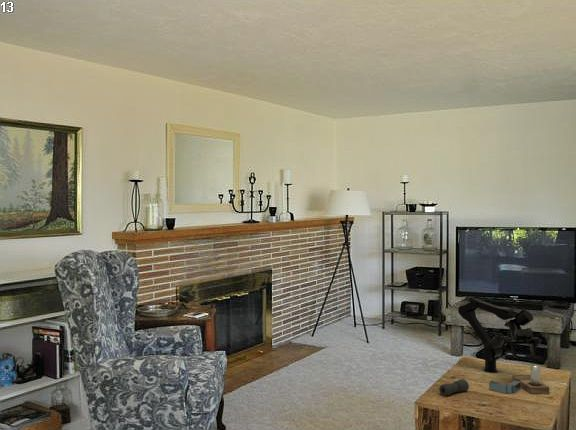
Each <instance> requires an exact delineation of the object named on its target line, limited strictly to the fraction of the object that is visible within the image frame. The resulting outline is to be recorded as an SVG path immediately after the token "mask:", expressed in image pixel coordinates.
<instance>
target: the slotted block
mask: <svg viewBox="0 0 576 430" xmlns="http://www.w3.org/2000/svg"><path fill="white" fill-rule="evenodd" d="M512 381H519V382H520V389H523V390H524V389H525V390H524V391H526V392H528V393H529V394H530V395H541V394H543V395H546V394H547V395H548V394H550V387H549V385H546V384H545V383H543V382H541V381H540V386H532V385H531V374H521V375H520V374H519V375H518V374H517V375H516V374H513V375H512V376H511V382H512Z"/></svg>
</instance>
